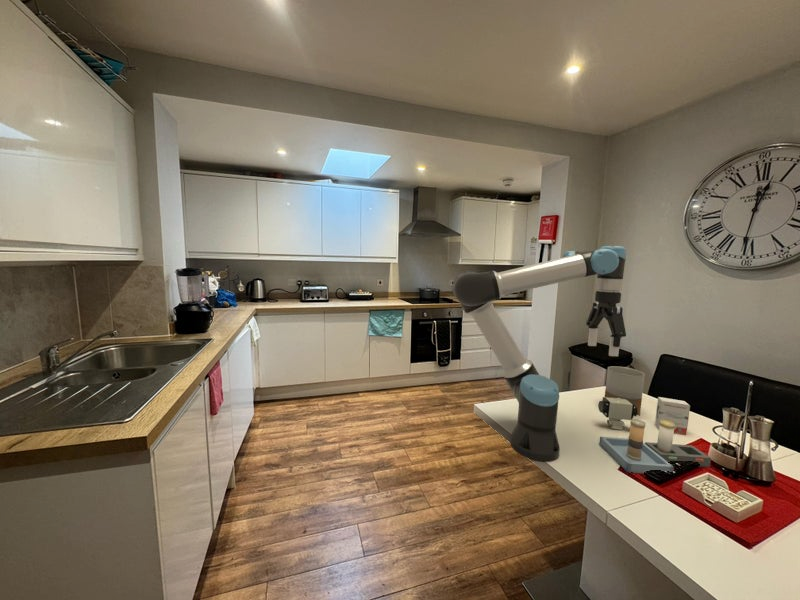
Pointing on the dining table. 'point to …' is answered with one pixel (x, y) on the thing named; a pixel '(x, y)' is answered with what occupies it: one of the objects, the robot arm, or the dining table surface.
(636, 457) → the fuse
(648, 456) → the parts tray
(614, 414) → the pneumatic valve
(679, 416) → the ink box
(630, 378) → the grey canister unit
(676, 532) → the dining table surface
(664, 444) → the cylinder
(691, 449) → the fuse holder
